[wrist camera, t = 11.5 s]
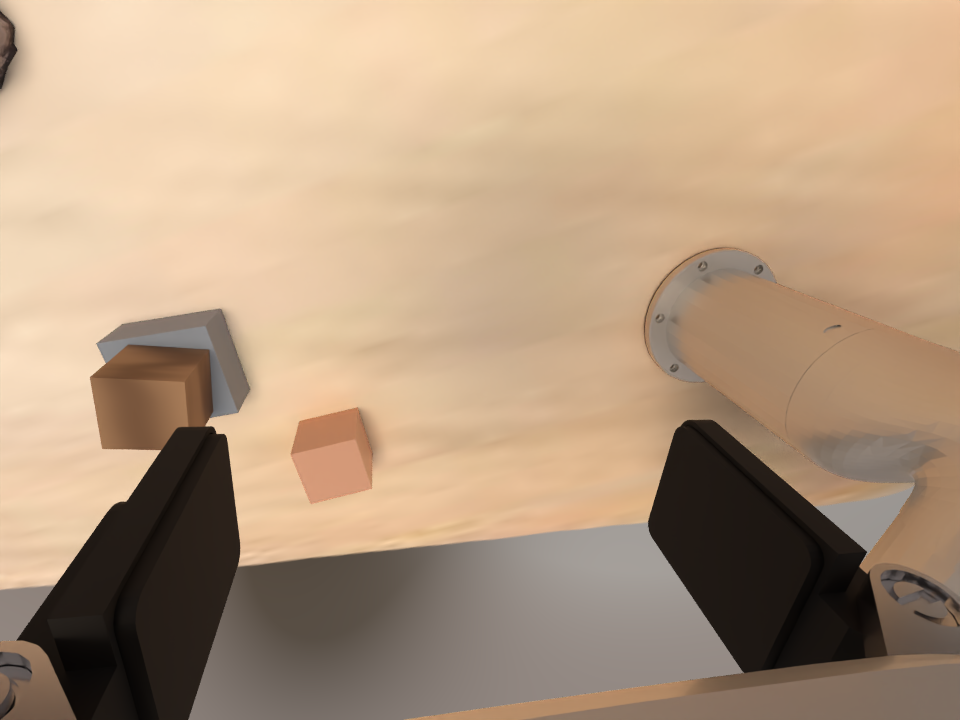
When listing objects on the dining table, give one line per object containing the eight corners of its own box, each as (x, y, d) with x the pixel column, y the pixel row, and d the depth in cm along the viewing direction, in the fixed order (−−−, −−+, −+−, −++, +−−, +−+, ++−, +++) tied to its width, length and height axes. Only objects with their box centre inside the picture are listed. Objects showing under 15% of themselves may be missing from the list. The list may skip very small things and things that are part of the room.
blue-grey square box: (221, 307, 38) (205, 326, 34) (250, 387, 41) (238, 412, 37) (123, 323, 37) (96, 343, 33) (160, 404, 40) (138, 430, 36)
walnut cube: (209, 349, 35) (184, 381, 30) (213, 411, 37) (190, 450, 32) (128, 344, 34) (90, 377, 29) (137, 408, 36) (102, 448, 31)
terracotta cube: (357, 407, 43) (355, 439, 39) (372, 453, 45) (371, 488, 41) (299, 420, 43) (290, 454, 38) (317, 466, 45) (310, 503, 40)
